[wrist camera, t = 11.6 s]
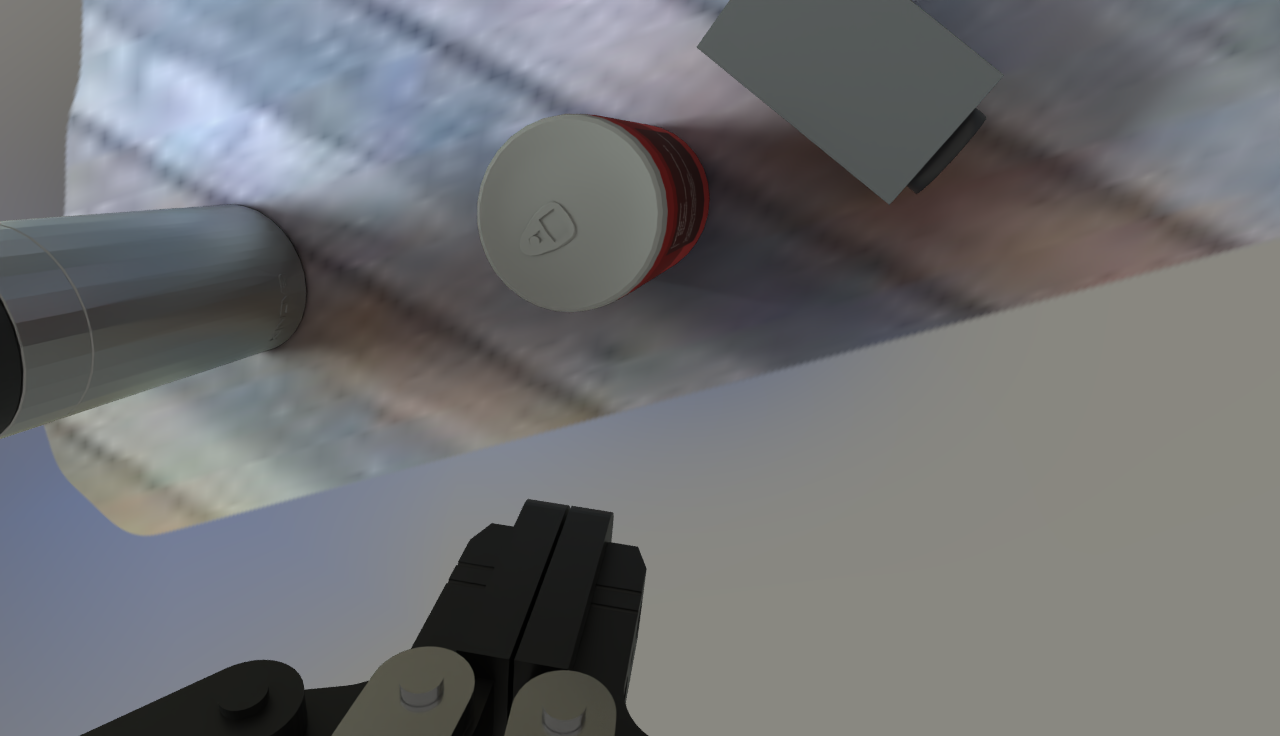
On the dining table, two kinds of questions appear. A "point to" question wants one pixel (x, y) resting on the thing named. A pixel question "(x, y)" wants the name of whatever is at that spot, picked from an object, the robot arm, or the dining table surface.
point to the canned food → (589, 209)
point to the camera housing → (859, 81)
